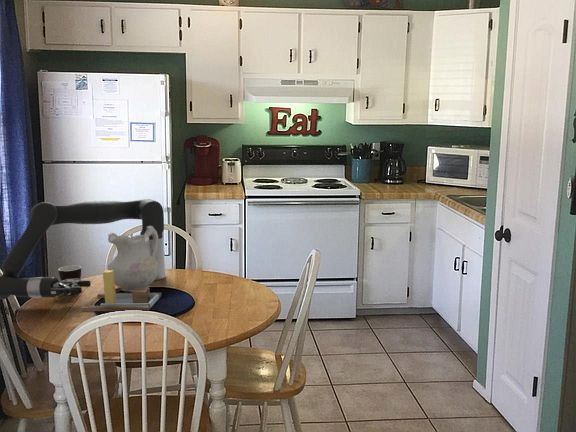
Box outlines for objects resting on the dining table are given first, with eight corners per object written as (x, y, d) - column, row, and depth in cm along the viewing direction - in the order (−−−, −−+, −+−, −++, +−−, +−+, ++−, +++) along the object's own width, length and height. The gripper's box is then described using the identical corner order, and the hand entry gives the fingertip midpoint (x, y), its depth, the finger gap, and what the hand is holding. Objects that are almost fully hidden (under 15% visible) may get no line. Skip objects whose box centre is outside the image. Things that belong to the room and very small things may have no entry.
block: (136, 300, 246) (135, 287, 246) (150, 300, 246) (149, 287, 245) (132, 305, 241) (131, 291, 241) (146, 305, 241) (145, 291, 240)
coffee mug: (76, 296, 259) (74, 271, 257) (56, 295, 260) (53, 270, 259) (91, 288, 270) (89, 263, 268) (71, 287, 272) (69, 263, 270)
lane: (99, 299, 254) (99, 292, 254) (161, 298, 252) (161, 292, 252) (81, 314, 237) (81, 307, 236) (148, 313, 235) (148, 307, 234)
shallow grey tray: (112, 300, 251) (110, 266, 249) (160, 300, 250) (157, 266, 248) (100, 311, 239) (97, 276, 236) (150, 311, 237) (147, 275, 235)
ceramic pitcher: (139, 283, 279) (131, 224, 276) (175, 284, 269) (167, 223, 266) (101, 297, 261) (91, 234, 257) (138, 299, 251) (129, 234, 247)
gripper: (33, 282, 238) (77, 282, 237) (50, 272, 252) (92, 271, 251) (35, 303, 239) (79, 302, 238) (52, 291, 253) (93, 291, 252)
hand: (85, 286), depth 244 cm, fingers open, 8 cm apart
